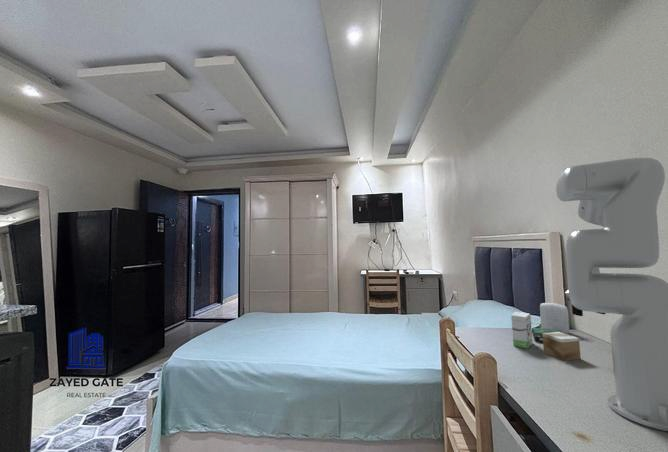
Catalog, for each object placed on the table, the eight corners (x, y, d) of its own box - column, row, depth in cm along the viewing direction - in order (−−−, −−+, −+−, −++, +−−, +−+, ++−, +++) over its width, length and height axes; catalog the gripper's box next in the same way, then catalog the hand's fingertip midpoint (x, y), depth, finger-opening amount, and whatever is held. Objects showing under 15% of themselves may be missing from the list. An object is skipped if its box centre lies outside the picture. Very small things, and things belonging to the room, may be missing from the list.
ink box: (528, 349, 101) (526, 317, 102) (512, 345, 105) (510, 314, 106) (532, 343, 107) (530, 313, 108) (518, 340, 111) (516, 311, 112)
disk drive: (568, 348, 103) (560, 336, 116) (568, 340, 104) (560, 329, 116) (535, 343, 109) (531, 333, 121) (534, 336, 109) (530, 326, 122)
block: (580, 359, 92) (578, 338, 93) (563, 360, 91) (561, 339, 91) (560, 351, 99) (559, 331, 99) (544, 352, 98) (542, 333, 98)
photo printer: (571, 332, 119) (568, 304, 120) (568, 334, 117) (565, 305, 118) (543, 327, 128) (540, 300, 129) (539, 329, 125) (537, 302, 126)
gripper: (593, 265, 105) (597, 310, 104) (554, 267, 102) (558, 313, 101) (616, 266, 97) (620, 315, 96) (575, 268, 95) (579, 318, 93)
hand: (588, 314), depth 98 cm, fingers open, 9 cm apart
